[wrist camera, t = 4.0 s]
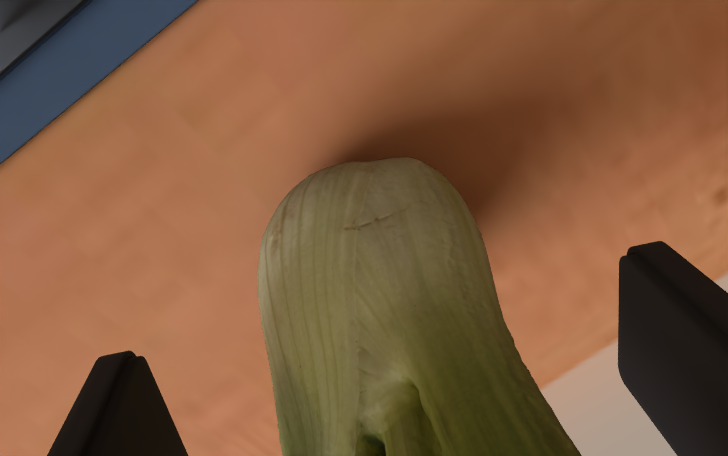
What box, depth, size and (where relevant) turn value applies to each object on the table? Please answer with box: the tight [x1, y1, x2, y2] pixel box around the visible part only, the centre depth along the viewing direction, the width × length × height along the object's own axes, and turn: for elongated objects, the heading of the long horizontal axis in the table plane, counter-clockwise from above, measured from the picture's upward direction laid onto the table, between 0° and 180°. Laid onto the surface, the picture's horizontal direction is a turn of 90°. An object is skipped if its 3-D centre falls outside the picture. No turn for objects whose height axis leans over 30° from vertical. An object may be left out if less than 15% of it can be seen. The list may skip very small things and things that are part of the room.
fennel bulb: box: [258, 157, 581, 456], centre depth 11 cm, size 6×5×12 cm
